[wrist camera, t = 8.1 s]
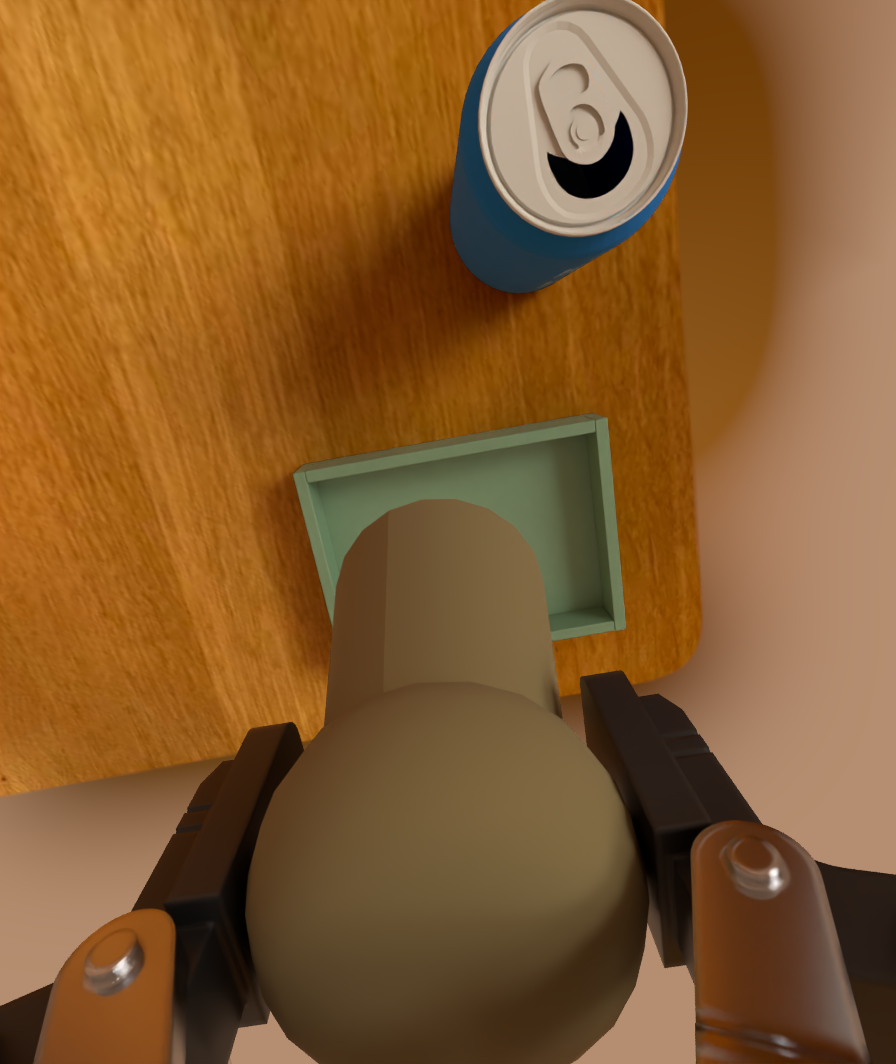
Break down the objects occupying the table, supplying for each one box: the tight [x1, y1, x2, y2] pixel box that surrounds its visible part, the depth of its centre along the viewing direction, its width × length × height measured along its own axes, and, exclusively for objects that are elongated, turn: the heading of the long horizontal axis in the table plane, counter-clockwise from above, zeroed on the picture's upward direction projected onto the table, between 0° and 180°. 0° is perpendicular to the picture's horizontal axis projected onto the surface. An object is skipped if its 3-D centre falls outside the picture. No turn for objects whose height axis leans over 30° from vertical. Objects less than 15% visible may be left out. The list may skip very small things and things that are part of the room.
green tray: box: [293, 413, 626, 641], centre depth 30 cm, size 15×11×2 cm
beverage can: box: [450, 0, 687, 293], centre depth 21 cm, size 6×6×12 cm
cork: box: [245, 499, 650, 1064], centre depth 11 cm, size 6×6×11 cm
